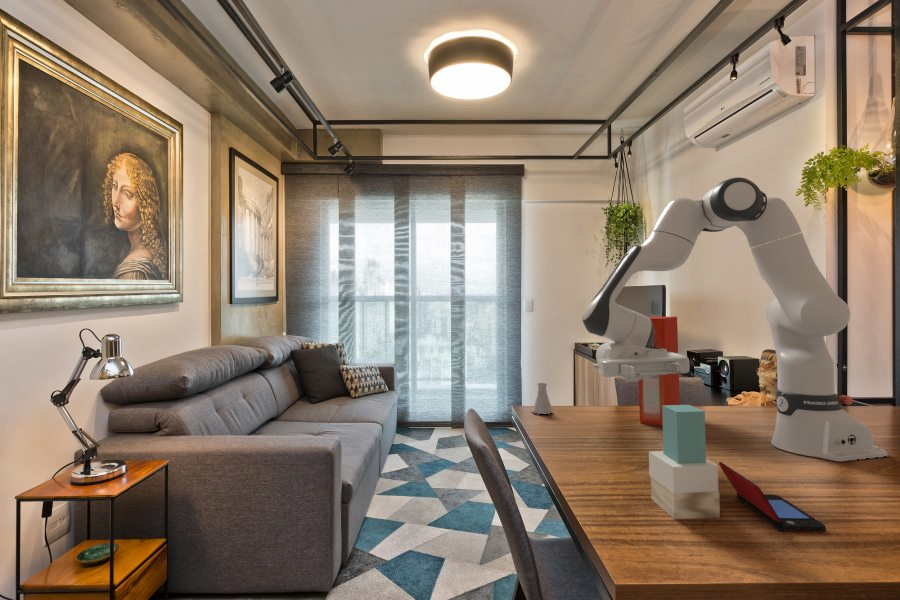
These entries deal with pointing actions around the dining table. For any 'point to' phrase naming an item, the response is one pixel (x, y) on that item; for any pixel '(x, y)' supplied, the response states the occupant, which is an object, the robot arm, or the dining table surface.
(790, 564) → the dining table surface
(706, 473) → the tower top
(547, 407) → the flask
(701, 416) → the teal pillar
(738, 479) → the handheld game console
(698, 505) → the tower base
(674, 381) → the file binder
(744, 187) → the robot arm
